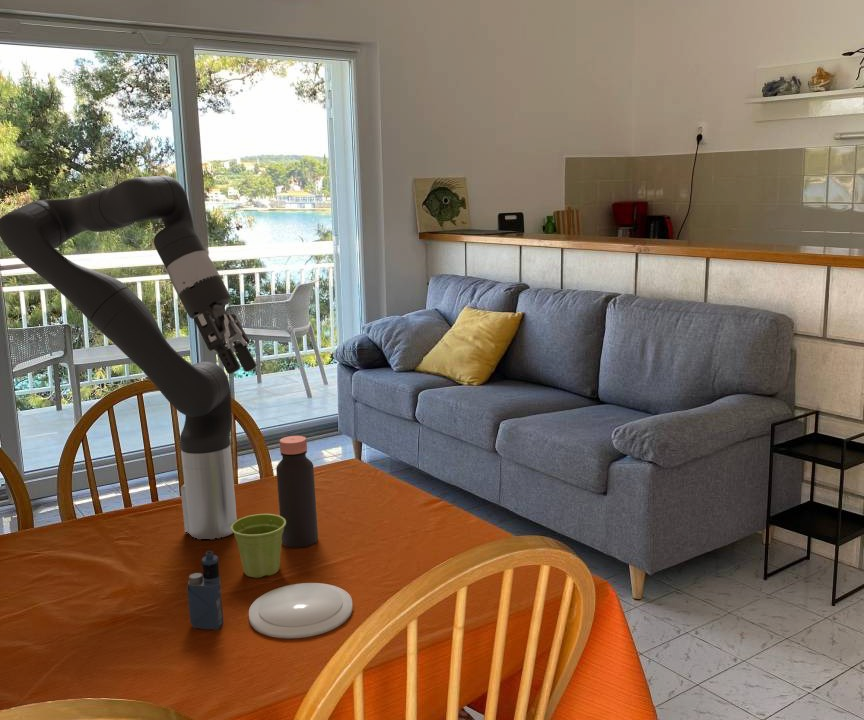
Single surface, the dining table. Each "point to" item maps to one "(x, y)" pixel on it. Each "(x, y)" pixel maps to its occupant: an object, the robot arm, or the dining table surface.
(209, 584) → the vaping device
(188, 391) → the robot arm
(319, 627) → the plate
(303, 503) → the bottle
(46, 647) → the dining table surface
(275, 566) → the plant pot
